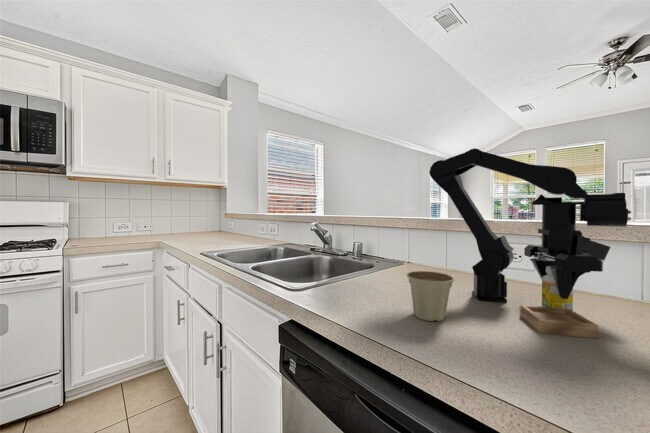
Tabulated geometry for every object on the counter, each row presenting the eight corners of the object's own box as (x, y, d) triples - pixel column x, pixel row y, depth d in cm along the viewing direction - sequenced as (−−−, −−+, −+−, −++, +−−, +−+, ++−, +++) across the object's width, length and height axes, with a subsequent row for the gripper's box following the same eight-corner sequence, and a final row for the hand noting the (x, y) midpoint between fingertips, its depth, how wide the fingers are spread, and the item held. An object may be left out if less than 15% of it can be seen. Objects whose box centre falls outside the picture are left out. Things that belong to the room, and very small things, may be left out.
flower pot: (451, 311, 61) (451, 272, 61) (456, 328, 52) (457, 283, 52) (407, 306, 64) (407, 269, 64) (405, 321, 55) (405, 279, 55)
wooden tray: (540, 332, 50) (540, 320, 50) (520, 315, 59) (520, 304, 59) (597, 338, 48) (597, 325, 48) (568, 319, 56) (568, 308, 56)
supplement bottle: (573, 316, 58) (574, 271, 58) (540, 310, 61) (541, 267, 61) (572, 309, 62) (573, 267, 62) (541, 304, 66) (542, 264, 65)
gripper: (639, 228, 50) (637, 313, 51) (575, 223, 68) (574, 286, 69) (566, 227, 53) (565, 307, 53) (523, 223, 71) (522, 283, 72)
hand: (556, 294), depth 62 cm, fingers closed on supplement bottle, 5 cm apart
